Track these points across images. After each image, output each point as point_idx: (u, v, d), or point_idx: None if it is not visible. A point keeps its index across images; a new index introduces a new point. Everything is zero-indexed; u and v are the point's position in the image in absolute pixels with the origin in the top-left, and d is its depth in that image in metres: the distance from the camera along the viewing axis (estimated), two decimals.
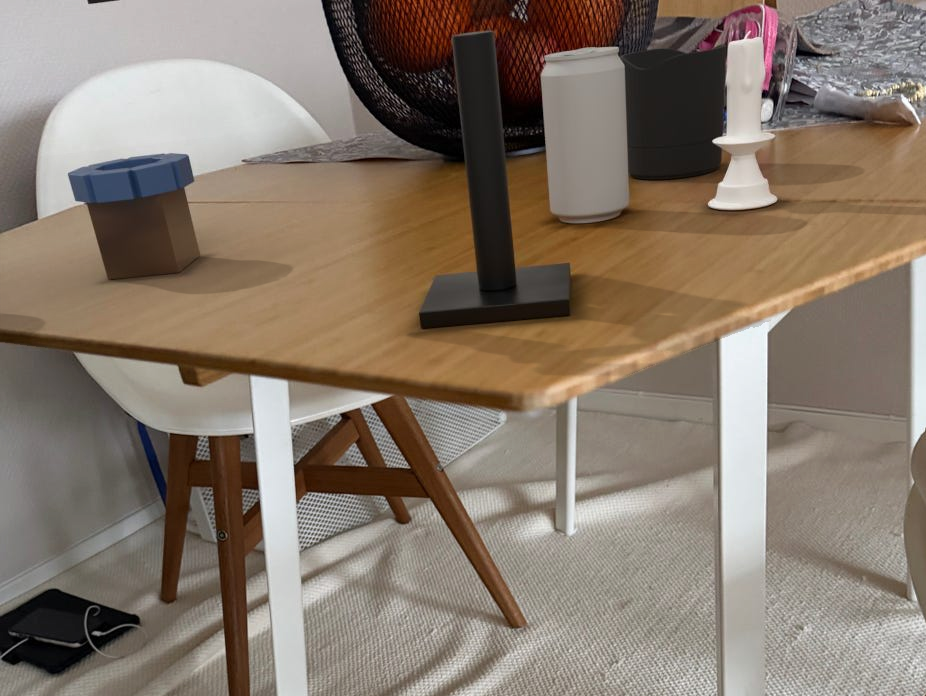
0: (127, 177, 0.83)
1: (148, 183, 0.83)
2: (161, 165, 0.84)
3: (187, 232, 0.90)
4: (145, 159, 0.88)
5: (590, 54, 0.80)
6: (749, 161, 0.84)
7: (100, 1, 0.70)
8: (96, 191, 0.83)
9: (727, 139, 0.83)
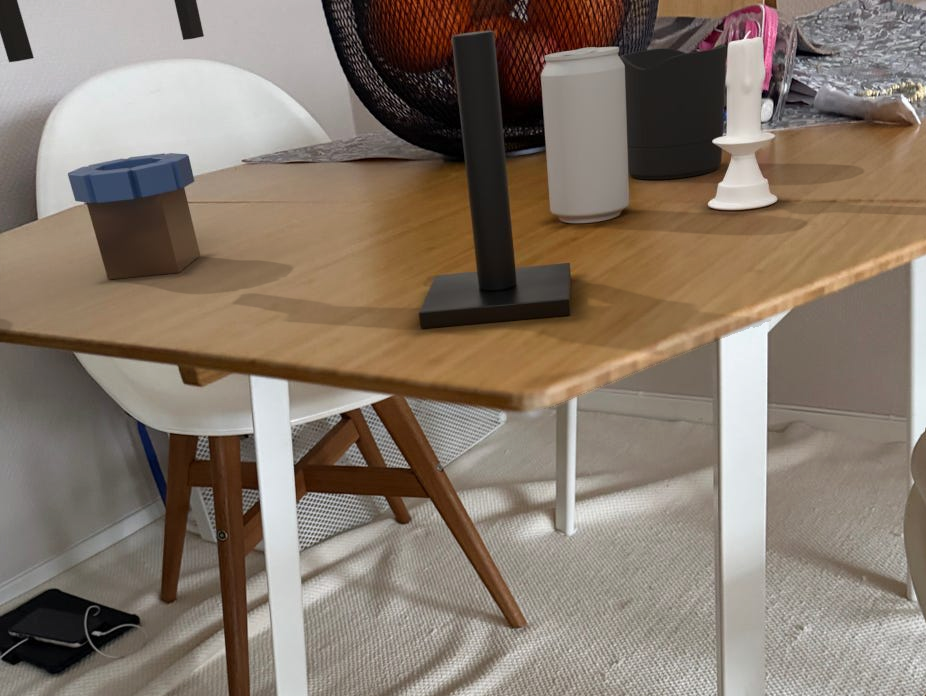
0: (127, 177, 0.83)
1: (148, 183, 0.83)
2: (161, 165, 0.84)
3: (187, 232, 0.90)
4: (145, 159, 0.88)
5: (590, 54, 0.80)
6: (749, 161, 0.84)
7: (196, 37, 0.80)
8: (96, 191, 0.83)
9: (727, 139, 0.83)
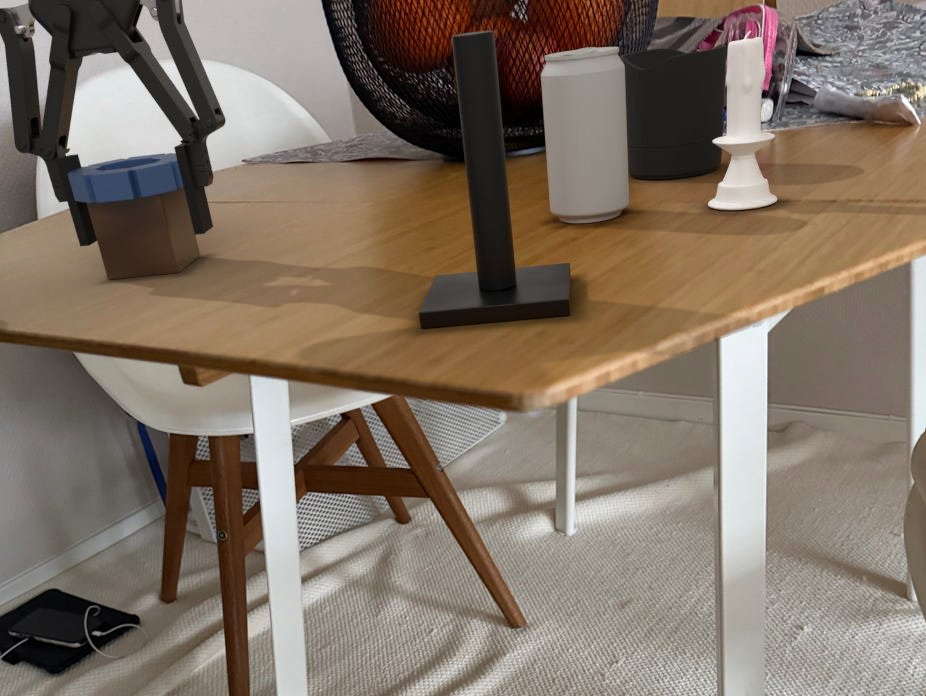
0: (127, 177, 0.83)
1: (148, 183, 0.83)
2: (161, 165, 0.84)
3: (187, 232, 0.90)
4: (145, 159, 0.88)
5: (590, 54, 0.80)
6: (749, 161, 0.84)
7: (206, 230, 0.88)
8: (95, 191, 0.83)
9: (727, 139, 0.83)
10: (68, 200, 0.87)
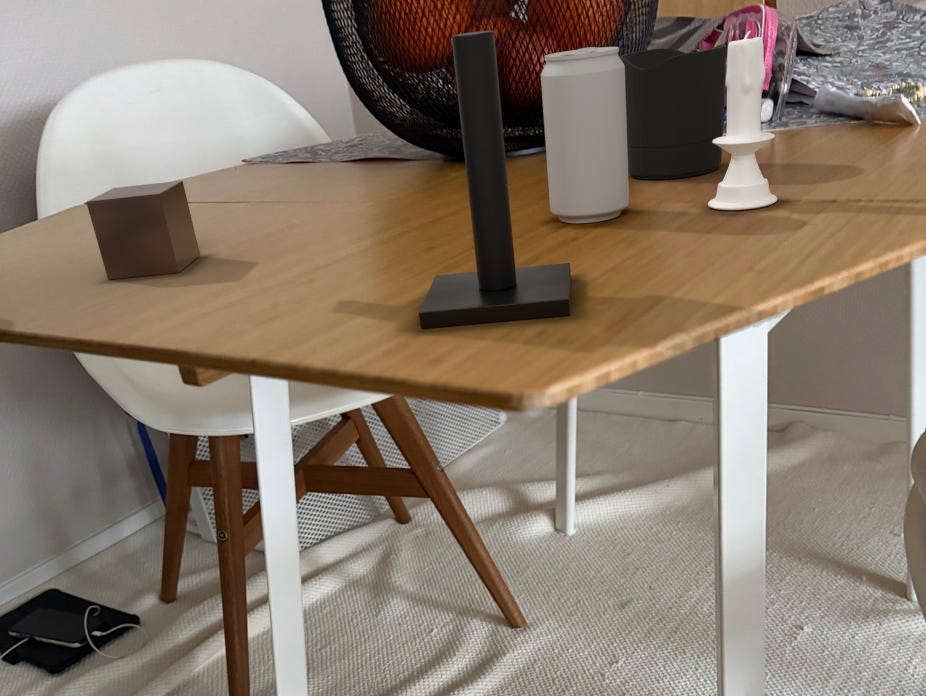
0: None
1: None
2: None
3: (187, 232, 0.90)
4: None
5: (590, 54, 0.80)
6: (749, 161, 0.84)
7: None
8: None
9: (727, 139, 0.83)
10: None
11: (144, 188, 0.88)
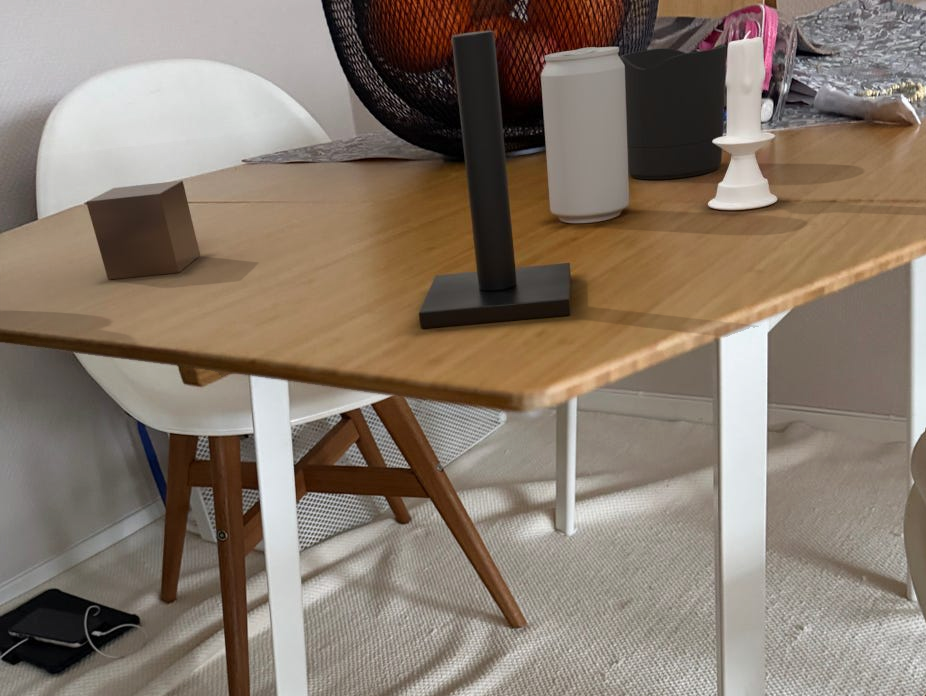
0: None
1: None
2: None
3: (187, 232, 0.90)
4: None
5: (590, 54, 0.80)
6: (749, 161, 0.84)
7: None
8: None
9: (727, 139, 0.83)
10: None
11: (144, 188, 0.88)
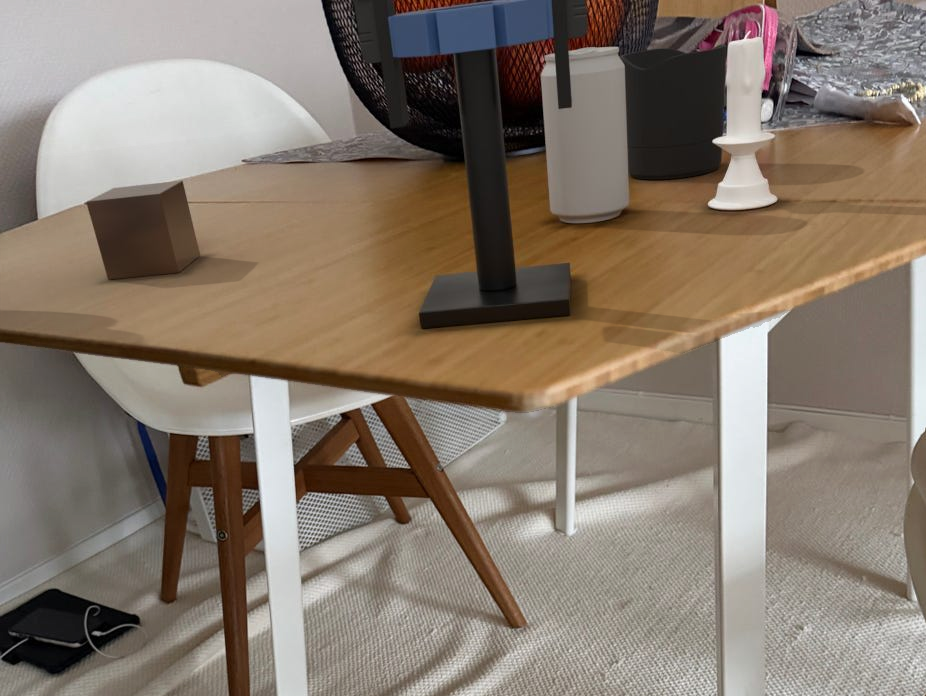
0: (491, 14, 0.57)
1: (516, 26, 0.58)
2: (534, 0, 0.58)
3: (187, 232, 0.90)
4: (483, 4, 0.63)
5: (590, 54, 0.80)
6: (749, 161, 0.84)
7: None
8: (441, 36, 0.58)
9: (727, 139, 0.83)
10: (382, 59, 0.61)
11: (144, 188, 0.88)
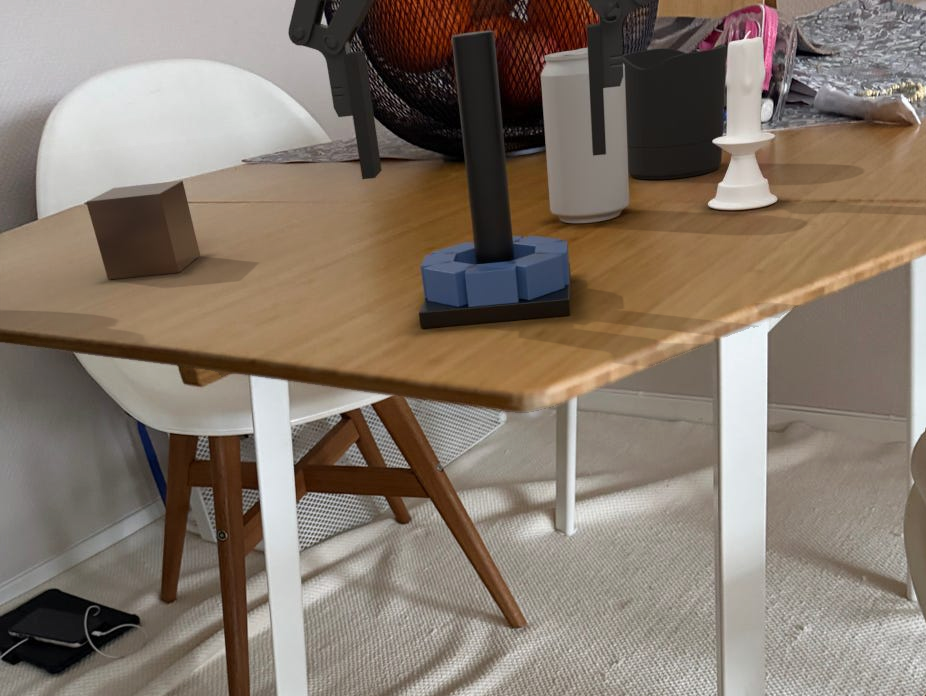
0: (514, 276, 0.64)
1: (536, 283, 0.65)
2: (552, 259, 0.65)
3: (187, 232, 0.90)
4: None
5: None
6: (749, 161, 0.84)
7: None
8: (470, 292, 0.65)
9: (727, 139, 0.83)
10: (354, 113, 0.63)
11: (144, 188, 0.88)
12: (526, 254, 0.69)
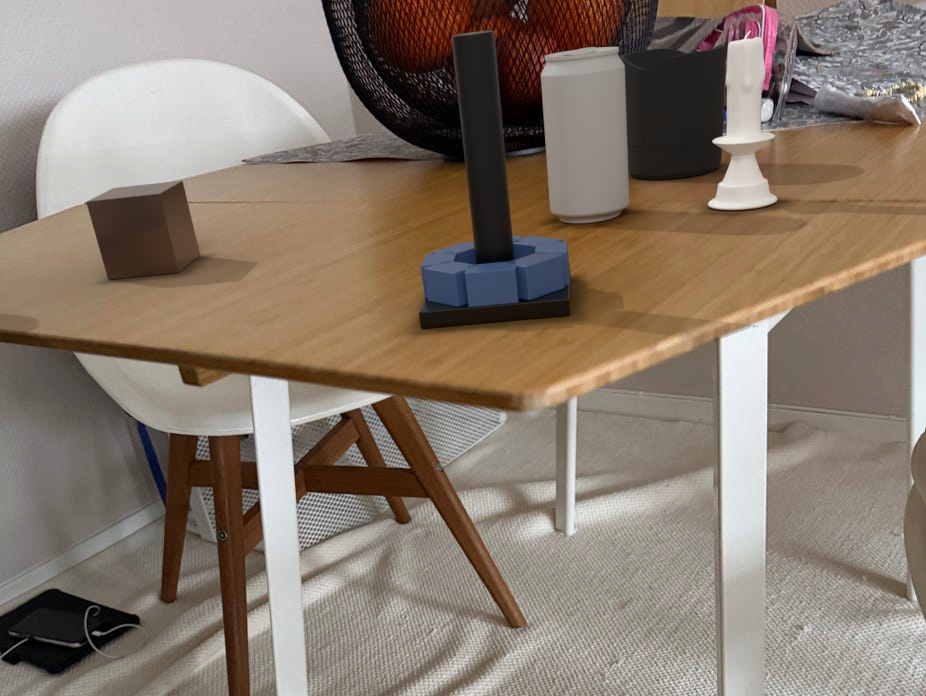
0: (514, 276, 0.64)
1: (536, 283, 0.65)
2: (552, 259, 0.65)
3: (187, 232, 0.90)
4: None
5: (590, 54, 0.80)
6: (749, 161, 0.84)
7: None
8: (470, 292, 0.65)
9: (727, 139, 0.83)
10: None
11: (144, 188, 0.88)
12: (526, 254, 0.69)
